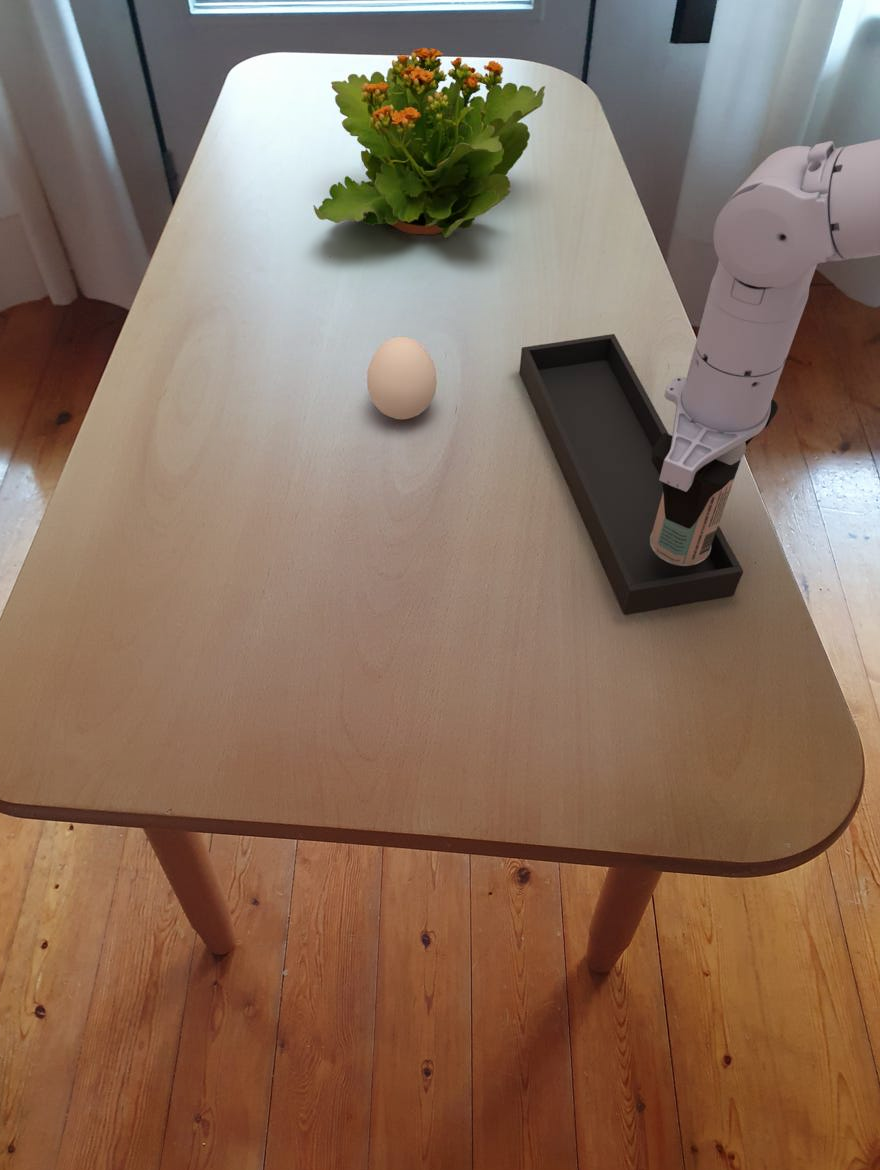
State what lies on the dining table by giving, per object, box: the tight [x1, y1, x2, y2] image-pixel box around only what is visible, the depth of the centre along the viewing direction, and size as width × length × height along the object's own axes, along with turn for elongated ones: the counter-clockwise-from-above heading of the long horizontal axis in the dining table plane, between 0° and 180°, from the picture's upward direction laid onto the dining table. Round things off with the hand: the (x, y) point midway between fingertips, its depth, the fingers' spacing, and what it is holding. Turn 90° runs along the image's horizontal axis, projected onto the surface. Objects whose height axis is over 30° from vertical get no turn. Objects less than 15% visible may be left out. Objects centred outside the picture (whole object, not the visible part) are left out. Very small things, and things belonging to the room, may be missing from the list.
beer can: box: [650, 442, 747, 566], centre depth 73 cm, size 5×5×12 cm
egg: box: [366, 336, 438, 421], centre depth 89 cm, size 6×6×8 cm
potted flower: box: [312, 47, 546, 239], centre depth 106 cm, size 25×24×18 cm
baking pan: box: [518, 333, 744, 616], centre depth 85 cm, size 31×9×3 cm, turn 11°
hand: (694, 499), depth 74 cm, fingers closed on beer can, 5 cm apart
